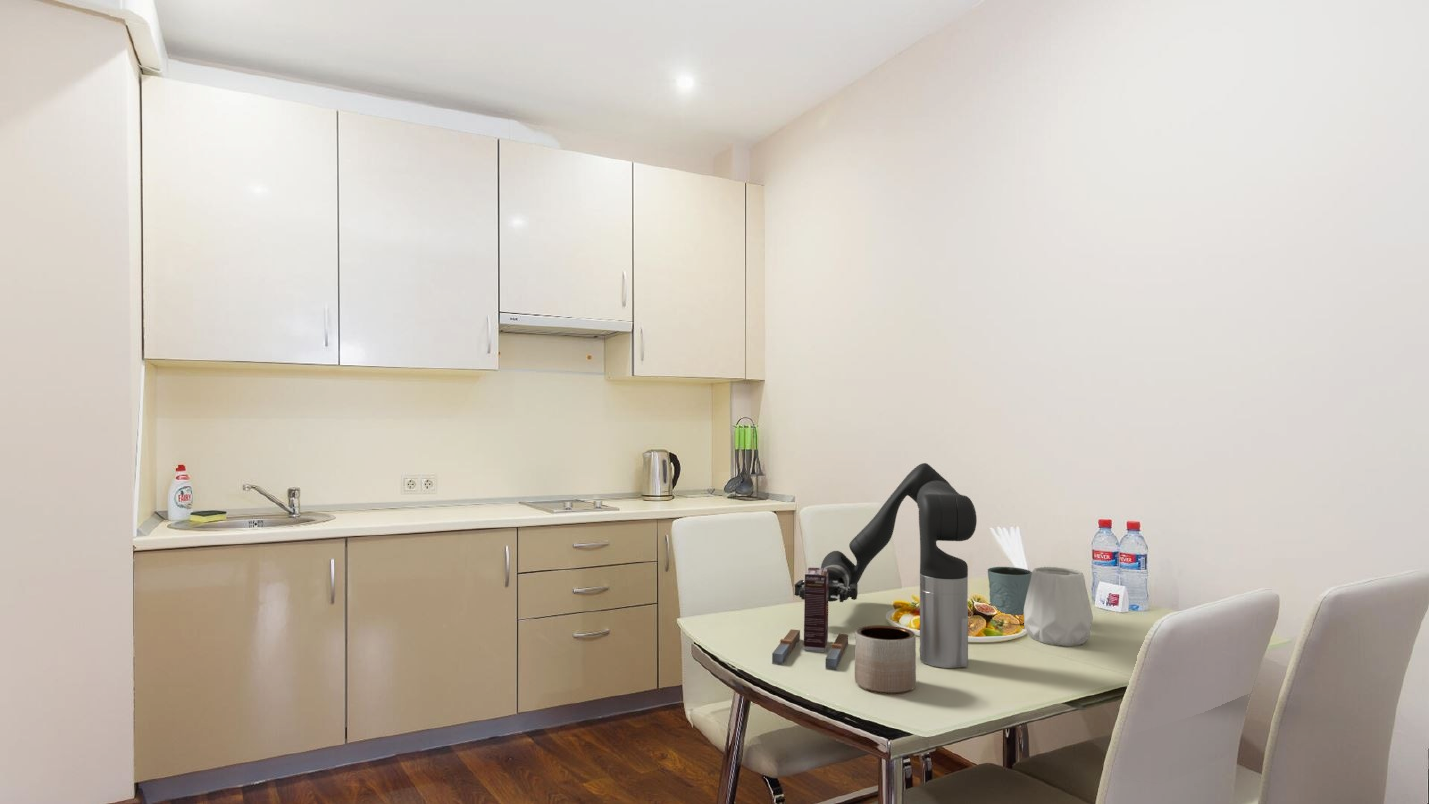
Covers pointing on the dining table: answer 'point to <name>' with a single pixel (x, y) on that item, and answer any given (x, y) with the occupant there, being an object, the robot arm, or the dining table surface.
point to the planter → (885, 659)
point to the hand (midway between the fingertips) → (821, 596)
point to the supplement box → (816, 609)
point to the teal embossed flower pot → (1009, 589)
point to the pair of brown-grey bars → (792, 640)
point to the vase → (1057, 607)
